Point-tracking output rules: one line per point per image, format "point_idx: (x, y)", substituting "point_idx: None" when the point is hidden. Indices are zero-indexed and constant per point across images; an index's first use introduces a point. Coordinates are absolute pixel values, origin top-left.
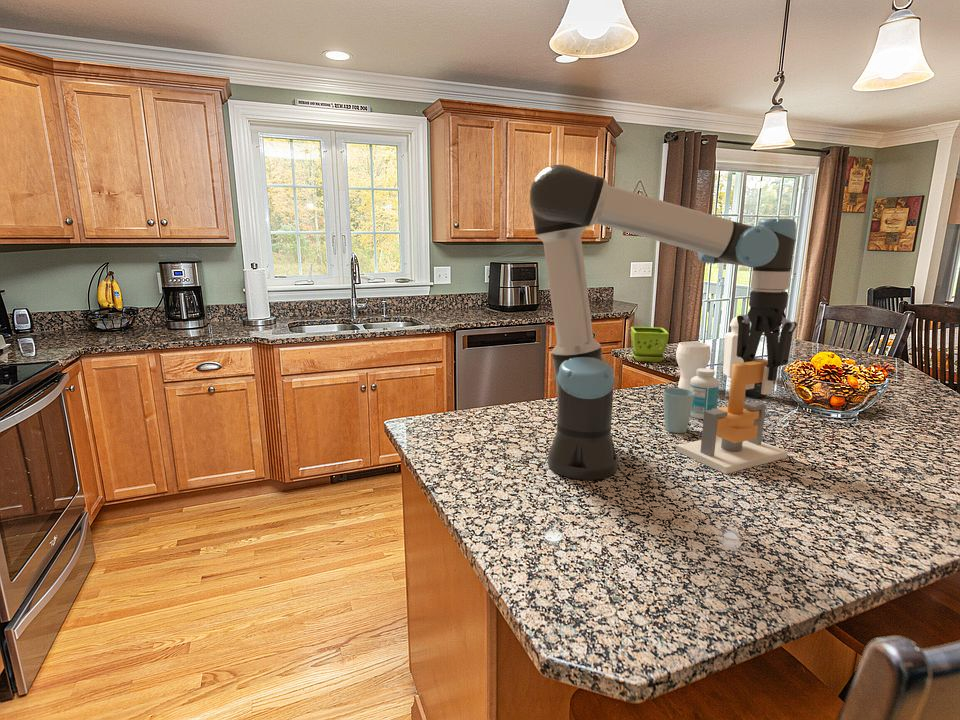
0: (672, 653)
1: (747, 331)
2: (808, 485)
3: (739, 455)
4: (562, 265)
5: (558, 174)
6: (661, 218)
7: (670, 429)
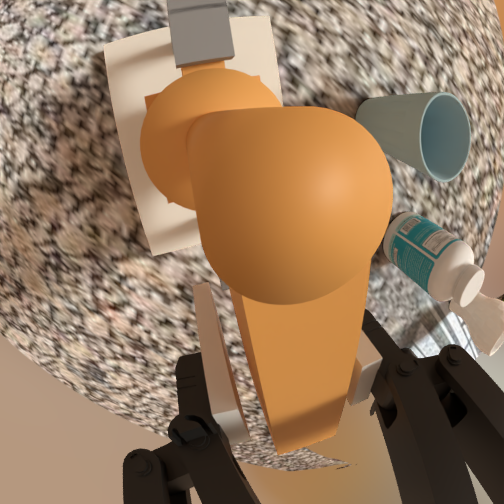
0: None
1: (498, 489)
2: (30, 194)
3: None
4: None
5: None
6: None
7: (372, 98)
